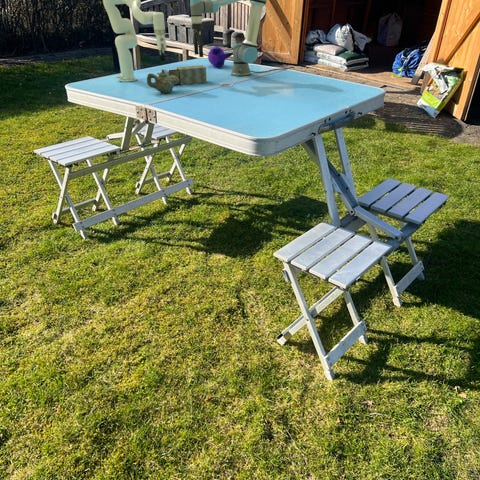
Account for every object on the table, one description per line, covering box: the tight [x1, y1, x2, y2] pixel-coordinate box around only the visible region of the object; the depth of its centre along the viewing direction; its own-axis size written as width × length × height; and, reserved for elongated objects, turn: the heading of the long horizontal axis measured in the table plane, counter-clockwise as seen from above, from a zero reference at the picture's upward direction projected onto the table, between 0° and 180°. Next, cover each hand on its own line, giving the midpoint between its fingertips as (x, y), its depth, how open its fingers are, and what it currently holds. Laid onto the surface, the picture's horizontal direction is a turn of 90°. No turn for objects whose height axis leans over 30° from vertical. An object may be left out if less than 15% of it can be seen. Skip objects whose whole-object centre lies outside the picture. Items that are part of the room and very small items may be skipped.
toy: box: [207, 46, 233, 69], centre depth 382 cm, size 16×18×27 cm
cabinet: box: [176, 64, 208, 86], centre depth 328 cm, size 19×10×11 cm, turn 109°
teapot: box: [146, 68, 179, 94], centre depth 299 cm, size 21×12×15 cm, turn 109°
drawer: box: [157, 68, 181, 84], centre depth 324 cm, size 24×9×9 cm, turn 109°
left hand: (162, 60), depth 316 cm, fingers closed
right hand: (198, 55), depth 323 cm, fingers open, 13 cm apart
